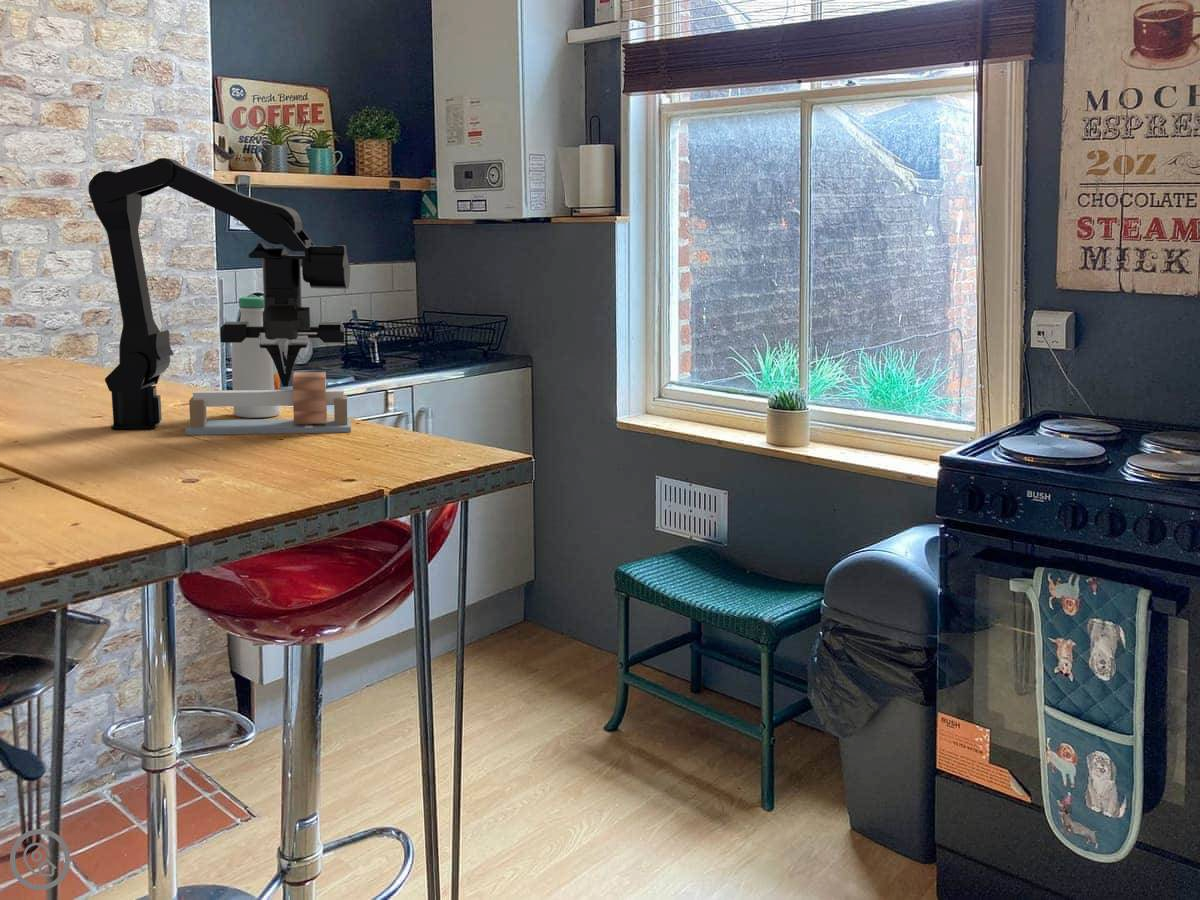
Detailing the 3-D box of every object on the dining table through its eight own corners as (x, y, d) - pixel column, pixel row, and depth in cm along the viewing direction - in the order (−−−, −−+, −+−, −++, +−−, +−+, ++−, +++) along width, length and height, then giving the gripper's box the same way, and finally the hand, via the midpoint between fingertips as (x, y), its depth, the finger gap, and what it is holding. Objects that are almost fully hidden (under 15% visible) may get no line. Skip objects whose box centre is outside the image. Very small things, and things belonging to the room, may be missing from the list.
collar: (293, 423, 181) (292, 377, 179) (295, 417, 186) (294, 372, 185) (326, 423, 182) (325, 377, 180) (326, 416, 187) (325, 372, 186)
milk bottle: (267, 420, 190) (263, 299, 186) (225, 417, 192) (219, 297, 188) (288, 412, 198) (285, 296, 194) (247, 410, 199) (243, 294, 195)
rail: (185, 434, 177) (183, 395, 175) (192, 425, 184) (190, 387, 183) (350, 432, 182) (349, 393, 181) (350, 423, 190) (349, 386, 188)
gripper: (214, 290, 169) (219, 394, 172) (343, 292, 173) (345, 393, 176) (222, 286, 180) (226, 383, 183) (343, 287, 184) (345, 383, 187)
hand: (285, 386), depth 182 cm, fingers closed
